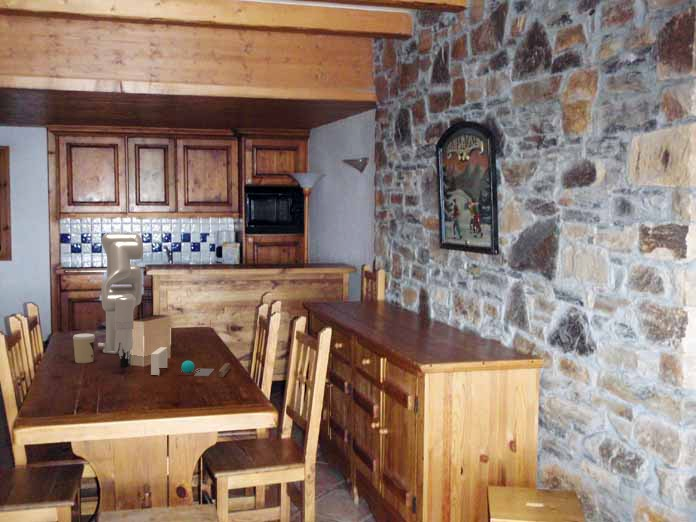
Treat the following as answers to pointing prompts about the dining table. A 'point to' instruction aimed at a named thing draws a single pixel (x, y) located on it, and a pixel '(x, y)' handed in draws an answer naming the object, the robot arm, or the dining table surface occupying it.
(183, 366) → the ball
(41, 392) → the dining table surface
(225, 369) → the stopper wall
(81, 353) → the coffee cup
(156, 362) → the bridge
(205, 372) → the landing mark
